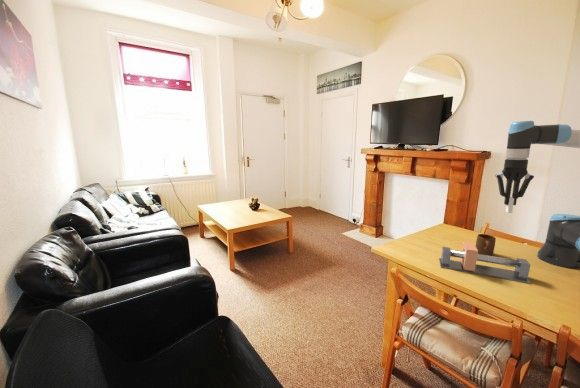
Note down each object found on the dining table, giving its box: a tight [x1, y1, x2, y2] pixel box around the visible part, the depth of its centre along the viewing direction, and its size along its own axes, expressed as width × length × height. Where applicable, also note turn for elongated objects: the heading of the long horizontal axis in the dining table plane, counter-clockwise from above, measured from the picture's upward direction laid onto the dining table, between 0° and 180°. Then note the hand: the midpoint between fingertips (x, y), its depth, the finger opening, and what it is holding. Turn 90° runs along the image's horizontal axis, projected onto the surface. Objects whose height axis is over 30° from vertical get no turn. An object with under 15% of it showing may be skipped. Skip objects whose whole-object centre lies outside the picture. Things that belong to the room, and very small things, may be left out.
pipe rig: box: [438, 246, 532, 285], centre depth 115 cm, size 32×9×8 cm, turn 64°
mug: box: [475, 233, 497, 256], centre depth 130 cm, size 12×8×9 cm, turn 150°
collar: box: [460, 241, 478, 271], centre depth 117 cm, size 4×10×10 cm, turn 155°
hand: (508, 211), depth 114 cm, fingers closed
